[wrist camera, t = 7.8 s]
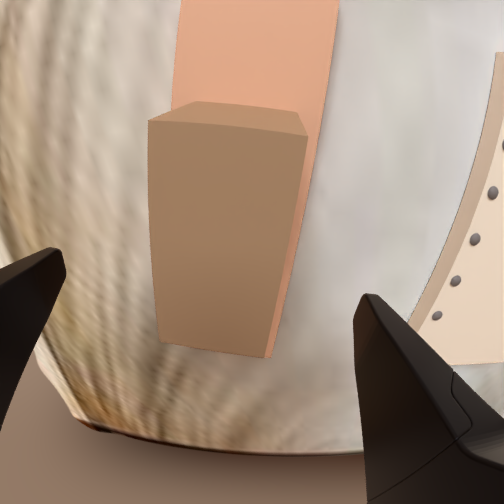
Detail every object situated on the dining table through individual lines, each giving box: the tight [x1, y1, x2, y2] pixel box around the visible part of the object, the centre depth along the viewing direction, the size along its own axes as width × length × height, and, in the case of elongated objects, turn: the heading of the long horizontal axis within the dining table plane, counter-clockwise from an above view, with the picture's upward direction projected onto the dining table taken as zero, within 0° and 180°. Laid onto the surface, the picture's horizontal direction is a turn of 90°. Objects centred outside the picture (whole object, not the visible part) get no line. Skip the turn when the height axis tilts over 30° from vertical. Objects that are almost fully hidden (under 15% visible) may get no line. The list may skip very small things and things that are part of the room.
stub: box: [148, 0, 339, 358], centre depth 12 cm, size 6×20×6 cm, turn 173°
